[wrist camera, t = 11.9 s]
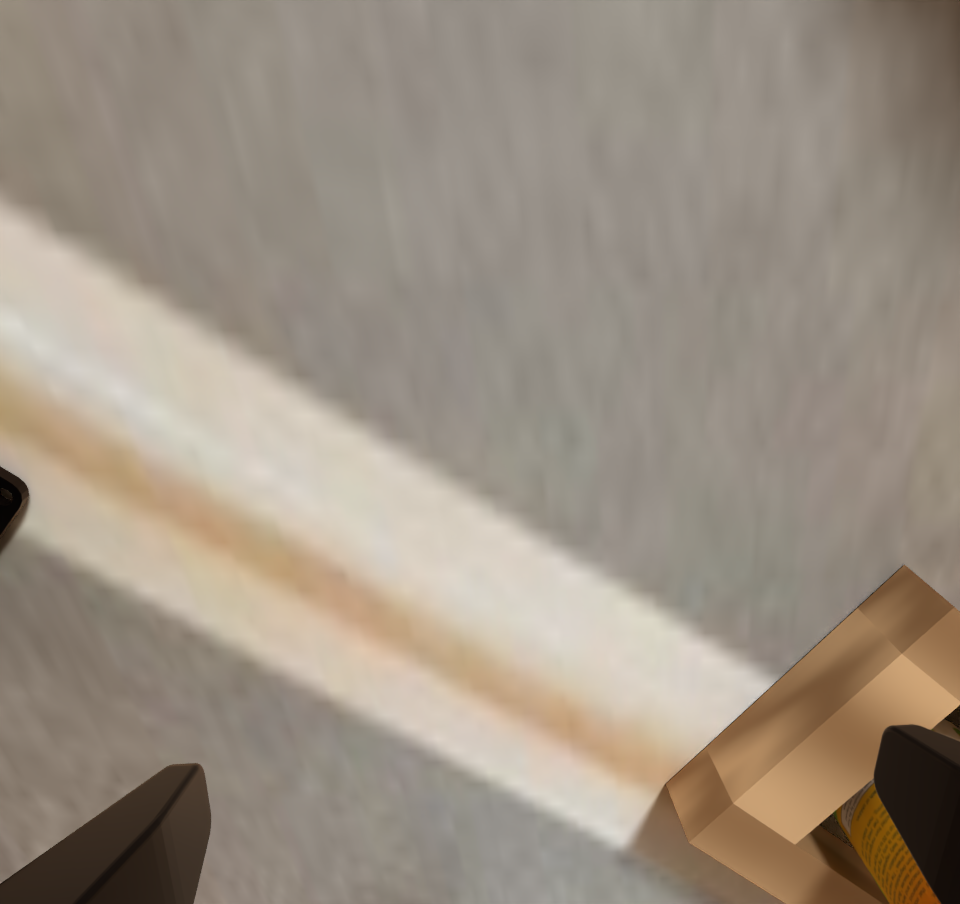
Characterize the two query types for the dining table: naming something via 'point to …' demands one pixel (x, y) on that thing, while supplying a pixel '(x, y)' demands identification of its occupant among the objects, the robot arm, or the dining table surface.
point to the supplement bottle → (886, 842)
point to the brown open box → (821, 746)
